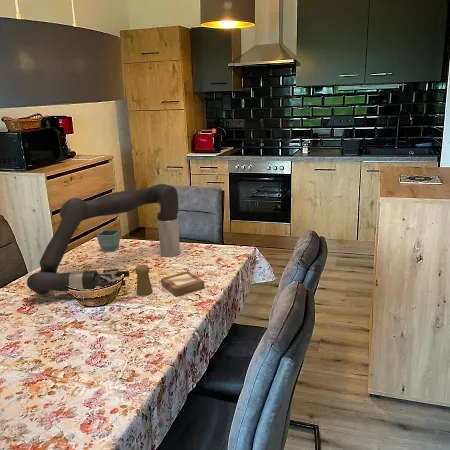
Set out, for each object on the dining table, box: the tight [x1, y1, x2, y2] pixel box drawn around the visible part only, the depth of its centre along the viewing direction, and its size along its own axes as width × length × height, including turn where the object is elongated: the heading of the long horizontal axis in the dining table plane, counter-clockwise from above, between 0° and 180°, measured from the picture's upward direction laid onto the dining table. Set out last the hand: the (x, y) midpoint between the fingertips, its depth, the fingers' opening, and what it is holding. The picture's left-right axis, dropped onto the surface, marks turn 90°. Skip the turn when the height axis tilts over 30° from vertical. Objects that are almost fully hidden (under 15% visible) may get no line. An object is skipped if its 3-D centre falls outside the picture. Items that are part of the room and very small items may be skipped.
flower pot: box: [96, 229, 121, 252], centre depth 217 cm, size 9×9×9 cm
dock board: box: [160, 270, 205, 298], centre depth 170 cm, size 13×12×3 cm
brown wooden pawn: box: [134, 264, 154, 297], centre depth 166 cm, size 6×6×11 cm
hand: (127, 278), depth 165 cm, fingers open, 8 cm apart
